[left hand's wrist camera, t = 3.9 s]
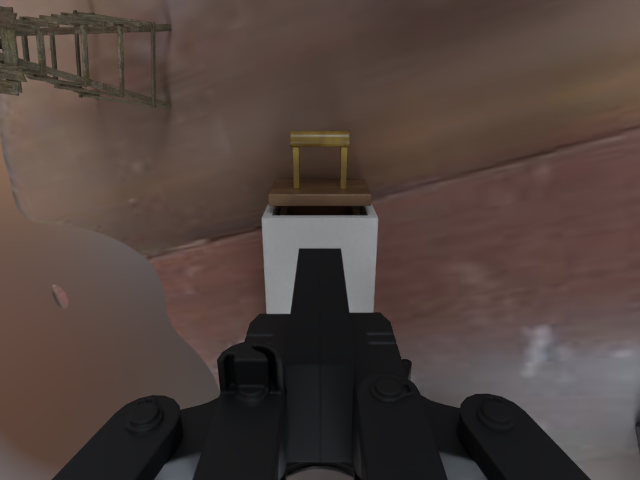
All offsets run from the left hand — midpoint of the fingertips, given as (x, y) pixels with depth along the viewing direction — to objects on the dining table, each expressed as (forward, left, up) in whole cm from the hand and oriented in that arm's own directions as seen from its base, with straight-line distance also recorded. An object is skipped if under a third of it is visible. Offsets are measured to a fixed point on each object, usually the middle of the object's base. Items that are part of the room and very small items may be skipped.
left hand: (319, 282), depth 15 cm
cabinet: (+15, +1, -33) cm, 37 cm away
